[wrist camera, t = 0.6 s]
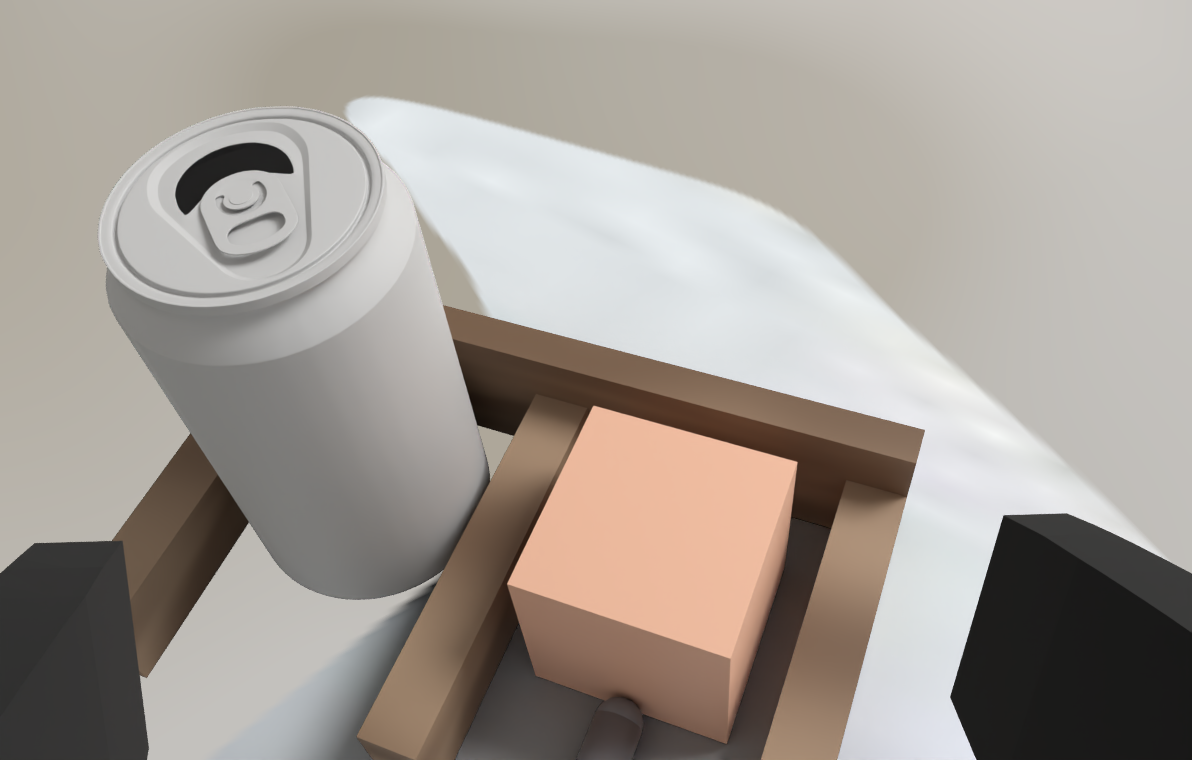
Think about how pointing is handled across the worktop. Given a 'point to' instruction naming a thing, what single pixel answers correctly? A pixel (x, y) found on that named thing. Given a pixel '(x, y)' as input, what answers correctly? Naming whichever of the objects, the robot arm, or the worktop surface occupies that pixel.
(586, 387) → the lane organiser
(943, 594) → the worktop surface
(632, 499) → the grey rod with ends
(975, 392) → the worktop surface
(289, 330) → the beverage can
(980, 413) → the worktop surface
